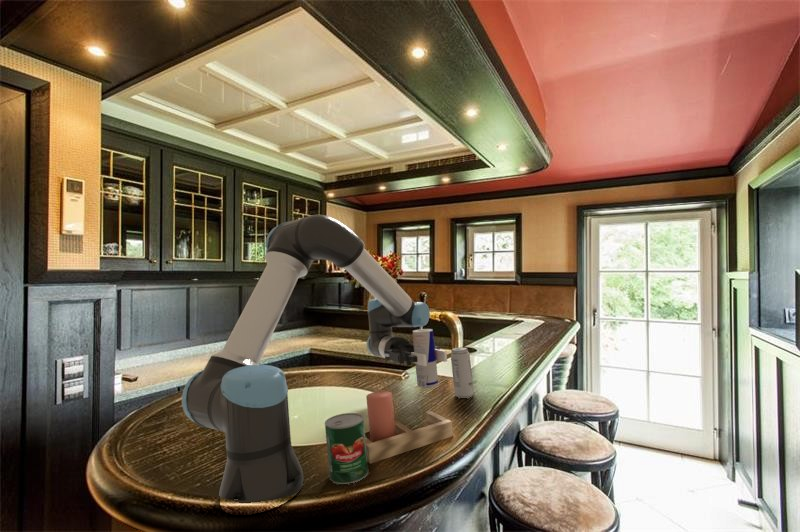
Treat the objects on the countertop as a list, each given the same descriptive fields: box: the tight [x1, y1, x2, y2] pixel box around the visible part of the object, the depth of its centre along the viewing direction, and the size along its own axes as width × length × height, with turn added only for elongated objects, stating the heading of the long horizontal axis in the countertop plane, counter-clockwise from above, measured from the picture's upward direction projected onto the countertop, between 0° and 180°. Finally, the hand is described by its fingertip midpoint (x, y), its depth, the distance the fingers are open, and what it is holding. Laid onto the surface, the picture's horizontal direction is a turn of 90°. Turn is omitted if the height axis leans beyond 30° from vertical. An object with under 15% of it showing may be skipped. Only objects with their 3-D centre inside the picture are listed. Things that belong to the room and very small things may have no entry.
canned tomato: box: [324, 412, 369, 485], centre depth 76 cm, size 8×8×11 cm
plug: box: [365, 390, 396, 443], centre depth 87 cm, size 6×6×12 cm
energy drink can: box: [450, 346, 475, 399], centre depth 119 cm, size 6×6×15 cm
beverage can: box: [412, 328, 439, 389], centre depth 100 cm, size 6×6×15 cm
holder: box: [365, 410, 454, 464], centre depth 89 cm, size 22×10×4 cm, turn 117°
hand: (435, 358), depth 96 cm, fingers closed on beverage can, 5 cm apart
